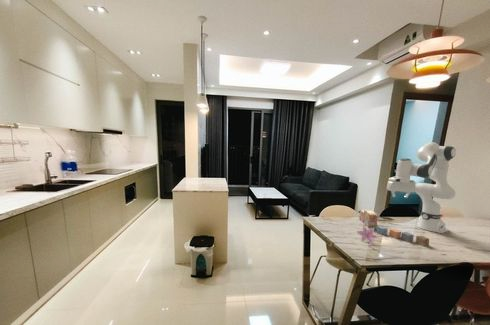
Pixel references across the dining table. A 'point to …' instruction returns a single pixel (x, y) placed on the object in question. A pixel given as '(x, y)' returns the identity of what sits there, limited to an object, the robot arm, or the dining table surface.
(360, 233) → the lily
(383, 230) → the slate blue cube
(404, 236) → the charcoal cube
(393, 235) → the terracotta cube
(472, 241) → the dining table surface
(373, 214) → the stack of blocks
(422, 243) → the walnut cube
